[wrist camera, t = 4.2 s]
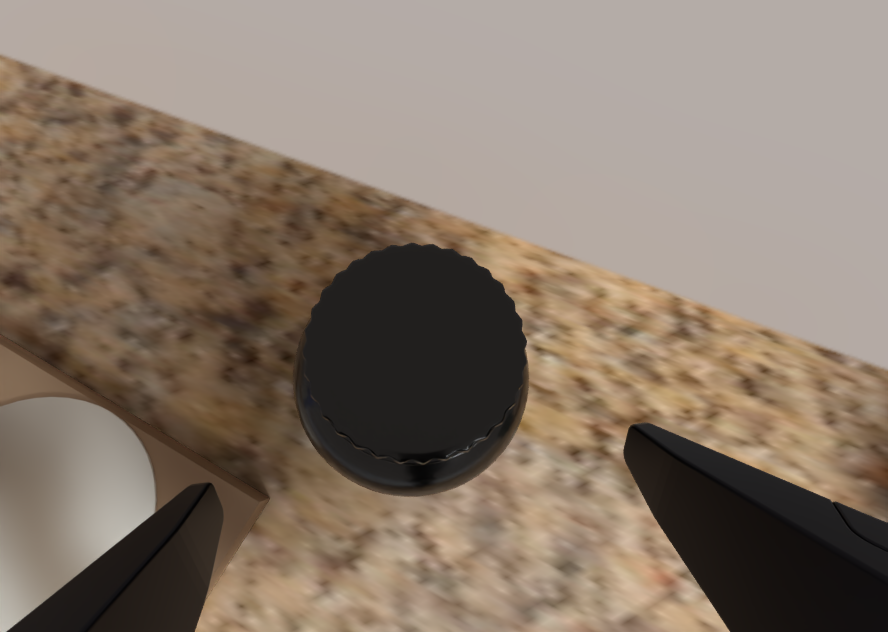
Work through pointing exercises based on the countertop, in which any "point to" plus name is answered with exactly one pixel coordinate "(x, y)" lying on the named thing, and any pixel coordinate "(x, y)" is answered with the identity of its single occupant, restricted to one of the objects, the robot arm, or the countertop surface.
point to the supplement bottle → (412, 371)
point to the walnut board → (86, 481)
